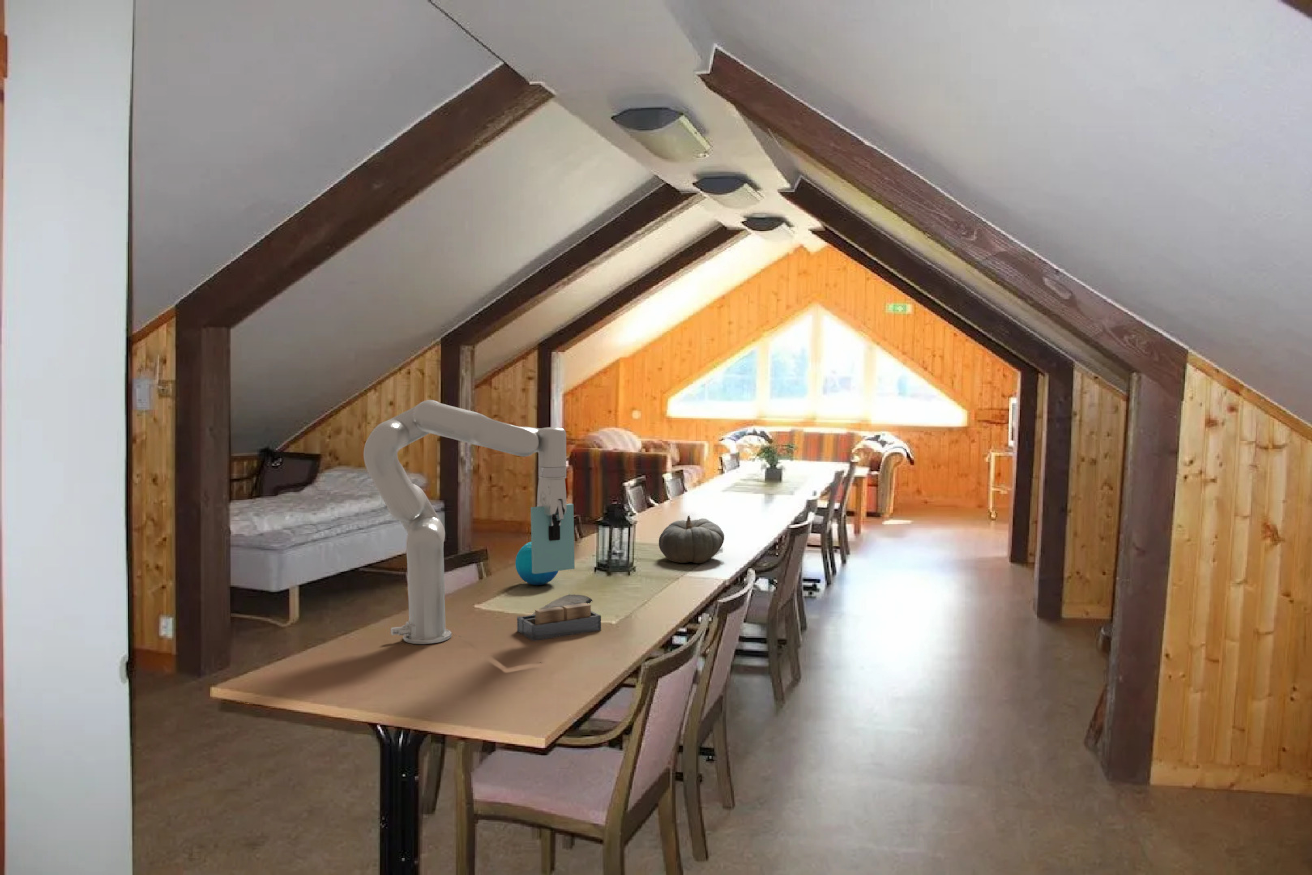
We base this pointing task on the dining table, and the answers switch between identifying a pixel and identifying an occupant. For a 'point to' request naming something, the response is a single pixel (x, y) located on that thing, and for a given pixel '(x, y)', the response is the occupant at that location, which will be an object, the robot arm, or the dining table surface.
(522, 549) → the decorative orb
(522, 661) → the dining table surface
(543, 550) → the teal board
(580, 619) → the metal rack
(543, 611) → the left offcut block
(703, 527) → the gourd
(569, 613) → the right offcut block
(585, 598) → the stone slab
